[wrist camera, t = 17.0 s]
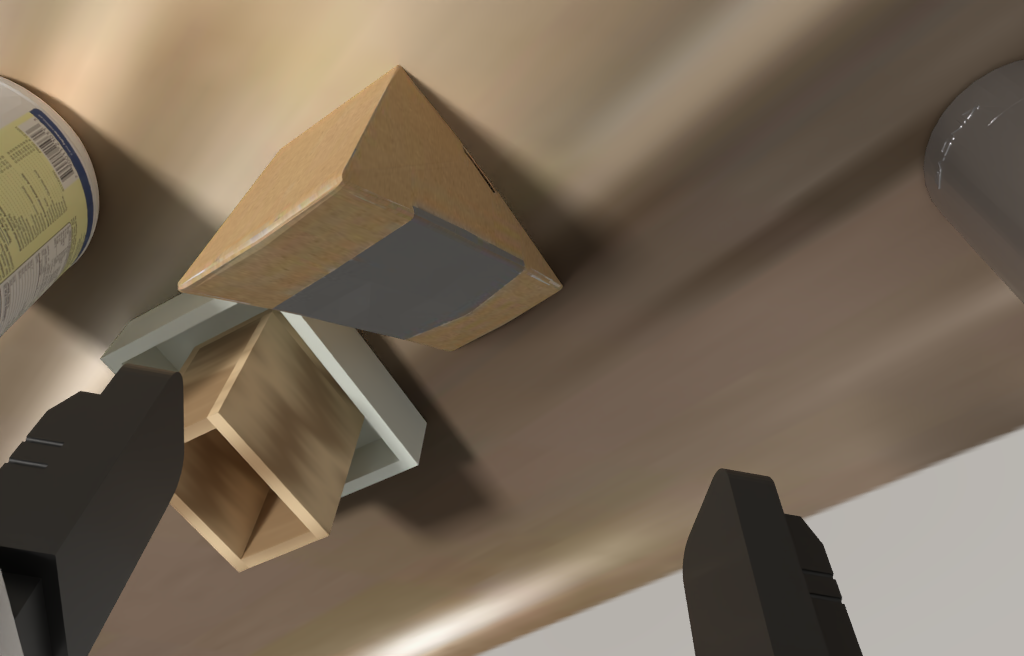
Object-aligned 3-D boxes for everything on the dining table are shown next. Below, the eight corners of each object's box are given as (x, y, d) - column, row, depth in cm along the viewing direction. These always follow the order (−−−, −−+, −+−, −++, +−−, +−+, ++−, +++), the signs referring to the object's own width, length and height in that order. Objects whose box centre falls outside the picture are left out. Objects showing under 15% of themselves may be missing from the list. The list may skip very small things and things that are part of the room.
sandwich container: (447, 356, 52) (414, 539, 39) (274, 151, 46) (168, 291, 33) (569, 287, 49) (575, 460, 37) (403, 60, 43) (340, 174, 30)
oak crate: (364, 416, 54) (329, 535, 45) (287, 451, 55) (238, 572, 47) (275, 305, 50) (218, 412, 41) (194, 346, 51) (123, 457, 43)
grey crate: (426, 423, 55) (418, 464, 51) (279, 486, 58) (262, 530, 55) (286, 237, 48) (266, 271, 45) (130, 321, 52) (100, 358, 48)
